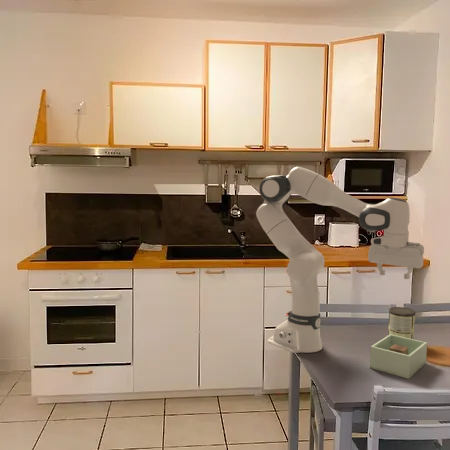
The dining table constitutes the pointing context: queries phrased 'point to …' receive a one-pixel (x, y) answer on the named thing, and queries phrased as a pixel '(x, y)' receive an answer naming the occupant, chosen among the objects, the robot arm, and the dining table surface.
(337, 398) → the dining table surface
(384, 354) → the bin
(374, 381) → the dining table surface
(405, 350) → the block
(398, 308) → the coffee can
